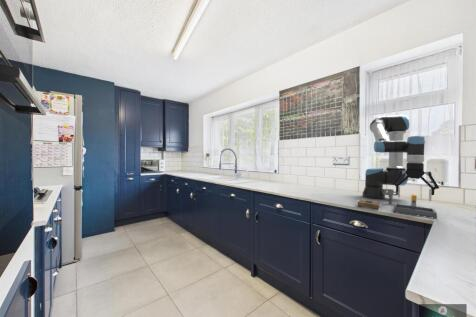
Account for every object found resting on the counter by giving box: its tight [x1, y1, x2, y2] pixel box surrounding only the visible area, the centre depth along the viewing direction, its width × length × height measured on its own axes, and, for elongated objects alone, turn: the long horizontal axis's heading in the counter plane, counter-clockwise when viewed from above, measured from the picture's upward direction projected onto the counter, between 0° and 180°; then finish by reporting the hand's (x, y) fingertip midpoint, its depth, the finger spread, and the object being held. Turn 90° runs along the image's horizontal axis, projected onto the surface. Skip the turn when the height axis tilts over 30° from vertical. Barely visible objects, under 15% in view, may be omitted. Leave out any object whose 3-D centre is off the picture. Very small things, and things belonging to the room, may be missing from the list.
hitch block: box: [357, 198, 380, 211], centre depth 130 cm, size 11×11×3 cm
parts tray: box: [393, 203, 438, 219], centre depth 116 cm, size 11×18×3 cm, turn 52°
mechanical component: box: [382, 188, 398, 205], centre depth 138 cm, size 3×10×10 cm, turn 78°
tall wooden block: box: [410, 193, 418, 210], centre depth 116 cm, size 5×2×10 cm, turn 142°
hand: (413, 199), depth 116 cm, fingers open, 13 cm apart
